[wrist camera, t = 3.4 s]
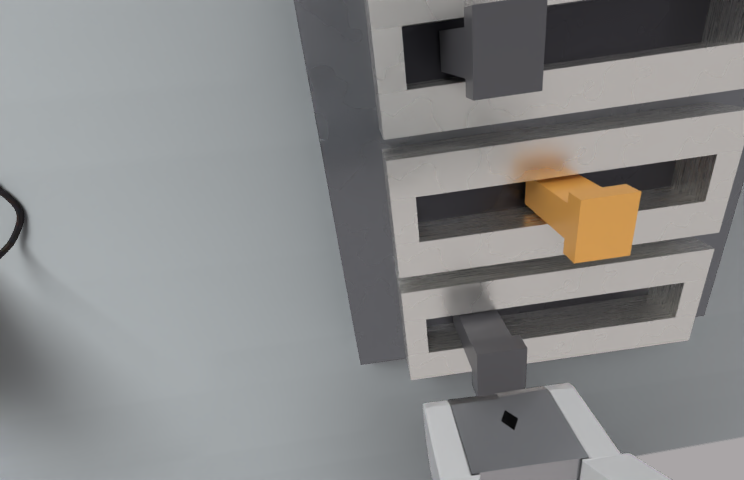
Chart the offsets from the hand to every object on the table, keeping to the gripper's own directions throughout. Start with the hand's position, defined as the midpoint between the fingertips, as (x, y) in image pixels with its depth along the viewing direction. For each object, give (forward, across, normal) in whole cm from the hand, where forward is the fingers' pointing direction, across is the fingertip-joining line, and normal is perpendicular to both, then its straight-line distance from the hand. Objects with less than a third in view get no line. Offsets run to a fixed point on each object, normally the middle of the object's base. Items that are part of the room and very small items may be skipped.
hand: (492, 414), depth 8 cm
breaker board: (+13, -6, -1) cm, 14 cm away
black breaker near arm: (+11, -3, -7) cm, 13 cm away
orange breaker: (+11, -6, -1) cm, 12 cm away
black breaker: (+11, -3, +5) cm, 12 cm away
